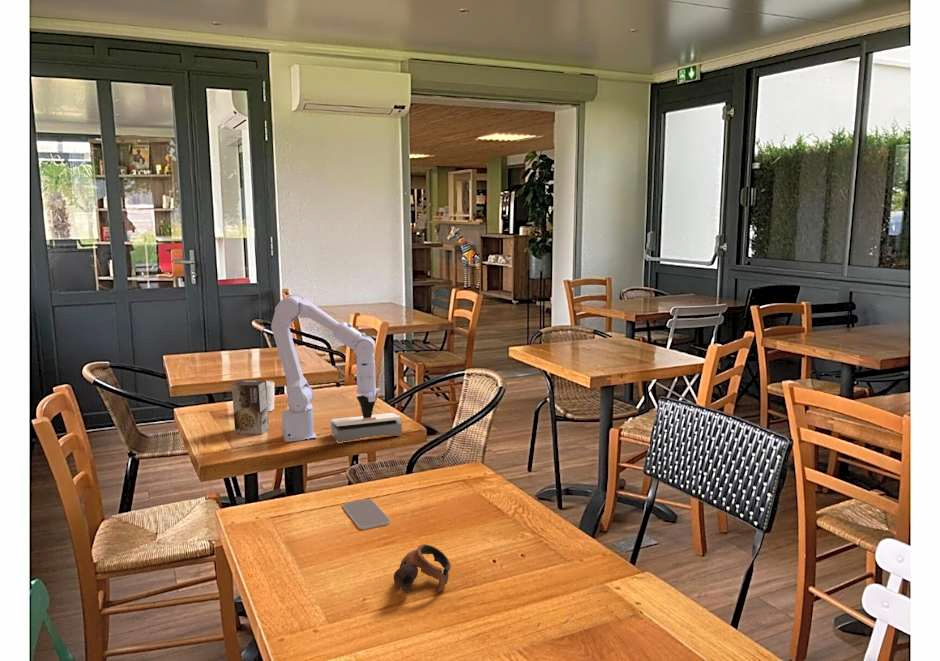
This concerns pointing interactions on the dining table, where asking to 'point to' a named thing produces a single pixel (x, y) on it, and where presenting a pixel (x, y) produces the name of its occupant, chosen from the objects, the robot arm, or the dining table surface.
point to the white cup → (270, 395)
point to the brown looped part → (416, 559)
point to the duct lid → (365, 419)
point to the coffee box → (250, 406)
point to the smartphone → (366, 514)
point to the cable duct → (366, 430)
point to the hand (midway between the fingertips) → (367, 418)
